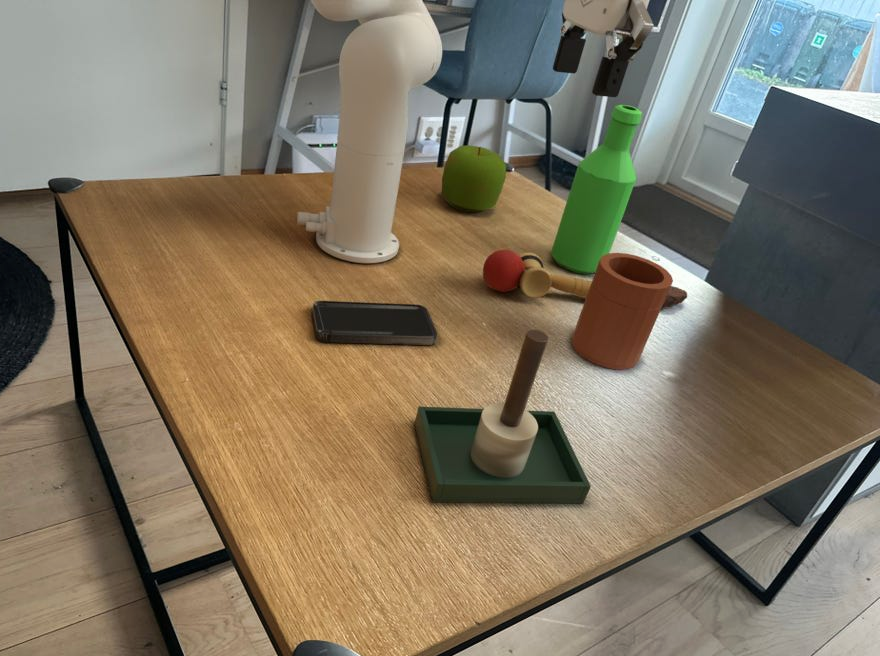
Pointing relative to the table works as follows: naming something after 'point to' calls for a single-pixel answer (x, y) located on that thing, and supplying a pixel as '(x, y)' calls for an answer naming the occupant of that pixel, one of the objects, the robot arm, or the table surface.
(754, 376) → the table surface
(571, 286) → the kendama
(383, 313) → the phone
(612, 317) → the jar
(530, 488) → the tray
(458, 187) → the apple
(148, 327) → the table surface
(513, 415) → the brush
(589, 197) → the bottle
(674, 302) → the stone
